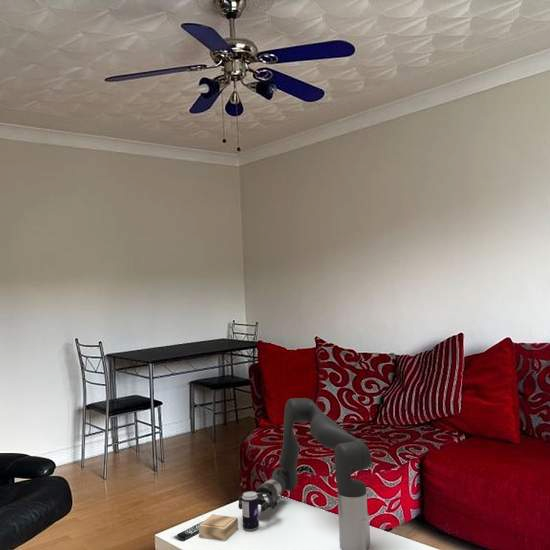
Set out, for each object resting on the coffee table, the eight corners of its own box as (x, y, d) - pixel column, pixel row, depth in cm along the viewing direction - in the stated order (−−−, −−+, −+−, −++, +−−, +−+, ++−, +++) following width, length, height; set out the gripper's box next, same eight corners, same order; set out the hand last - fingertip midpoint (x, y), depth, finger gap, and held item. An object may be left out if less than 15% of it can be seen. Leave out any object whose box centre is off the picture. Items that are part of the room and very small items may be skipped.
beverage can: (256, 532, 198) (255, 497, 198) (241, 531, 199) (239, 496, 199) (260, 525, 203) (259, 491, 203) (245, 524, 204) (244, 490, 205)
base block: (238, 529, 200) (237, 516, 201) (225, 540, 191) (224, 527, 191) (213, 525, 204) (212, 513, 204) (199, 537, 195) (198, 524, 195)
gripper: (251, 480, 219) (232, 495, 204) (285, 484, 214) (268, 499, 199) (251, 500, 219) (233, 516, 204) (286, 504, 214) (269, 521, 199)
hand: (250, 507), depth 201 cm, fingers open, 8 cm apart
